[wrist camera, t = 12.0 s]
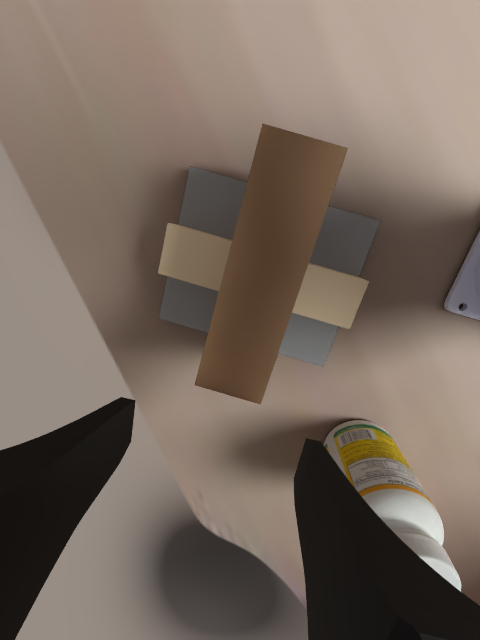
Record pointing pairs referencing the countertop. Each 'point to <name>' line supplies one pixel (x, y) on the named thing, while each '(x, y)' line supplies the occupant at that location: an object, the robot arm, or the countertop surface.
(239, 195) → the board
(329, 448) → the supplement bottle
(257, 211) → the walnut bar
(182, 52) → the countertop surface
